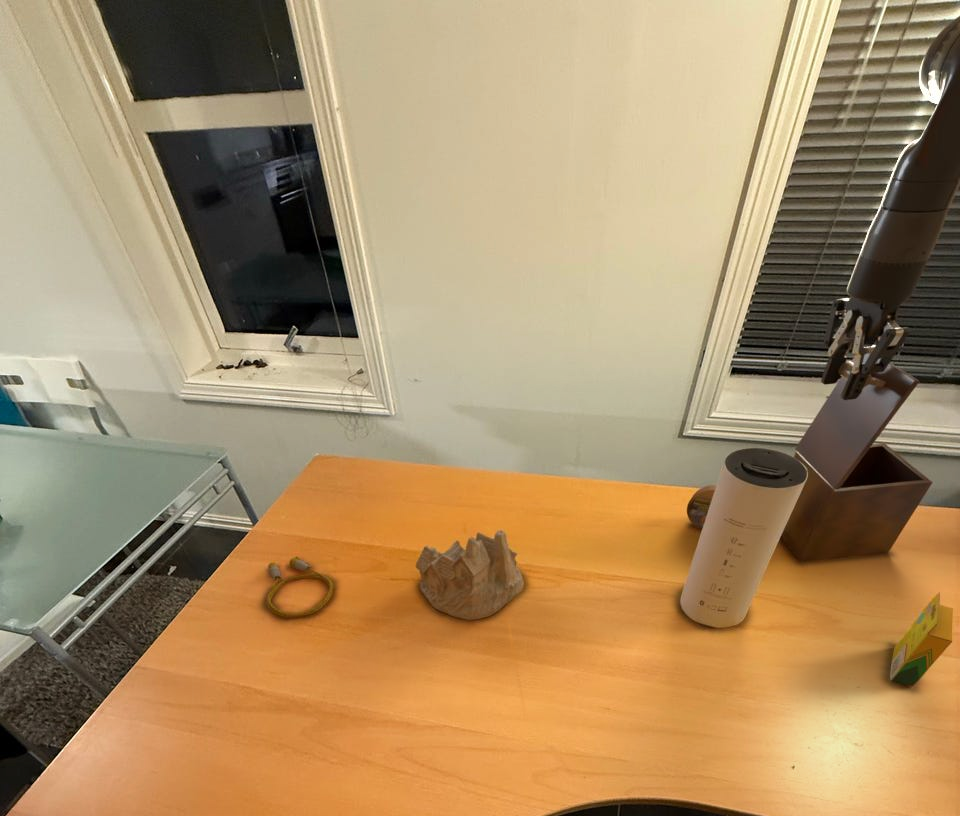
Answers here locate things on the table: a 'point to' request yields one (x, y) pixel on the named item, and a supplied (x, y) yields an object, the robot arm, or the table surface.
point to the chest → (855, 508)
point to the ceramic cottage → (471, 576)
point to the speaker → (741, 534)
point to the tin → (700, 505)
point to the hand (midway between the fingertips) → (838, 390)
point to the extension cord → (299, 565)
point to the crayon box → (922, 643)
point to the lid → (853, 421)
